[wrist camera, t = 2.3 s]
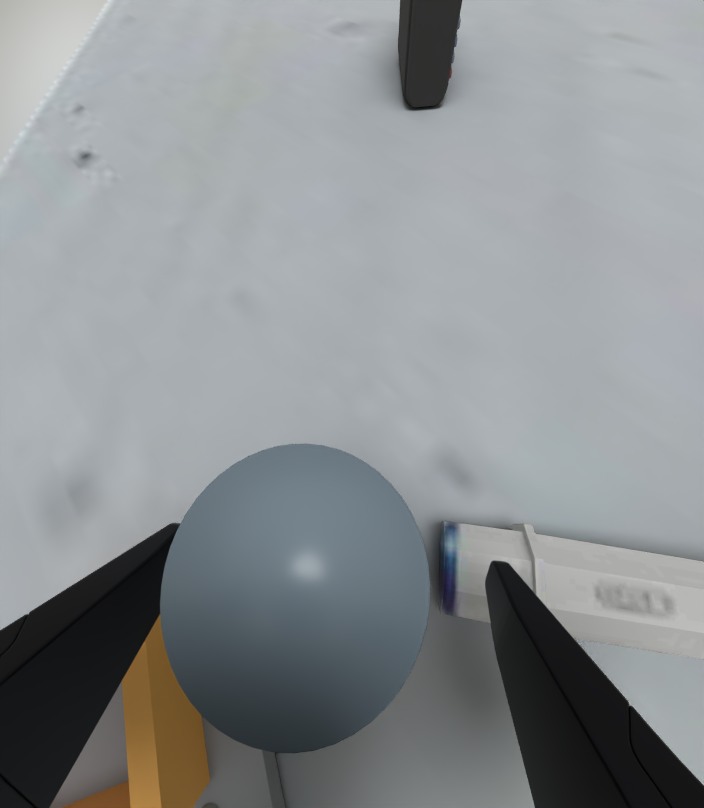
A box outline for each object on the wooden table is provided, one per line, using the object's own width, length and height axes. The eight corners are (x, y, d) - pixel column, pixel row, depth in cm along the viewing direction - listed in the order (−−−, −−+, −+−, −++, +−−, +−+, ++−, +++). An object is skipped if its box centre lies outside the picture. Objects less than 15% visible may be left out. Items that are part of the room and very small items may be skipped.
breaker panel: (297, 872, 13) (264, 1027, 9) (-7, 1003, 12) (-188, 1233, 8) (236, 557, 17) (195, 568, 13) (7, 641, 16) (-110, 679, 12)
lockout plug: (401, 564, 16) (485, 688, 4) (325, 593, 16) (177, 813, 4) (373, 485, 18) (374, 408, 6) (302, 511, 18) (142, 488, 5)
